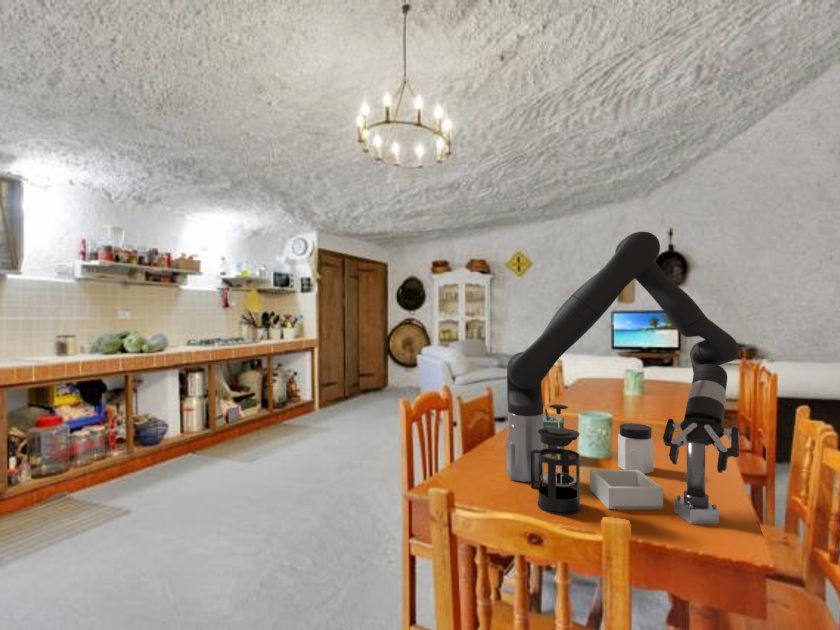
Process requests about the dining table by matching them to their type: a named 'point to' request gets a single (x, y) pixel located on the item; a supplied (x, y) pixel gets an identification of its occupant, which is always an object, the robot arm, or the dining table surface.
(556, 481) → the french press
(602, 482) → the bin
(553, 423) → the chalk box
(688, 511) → the stud mount
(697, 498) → the grey metal flanged cylinder
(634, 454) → the jar
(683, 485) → the dining table surface
